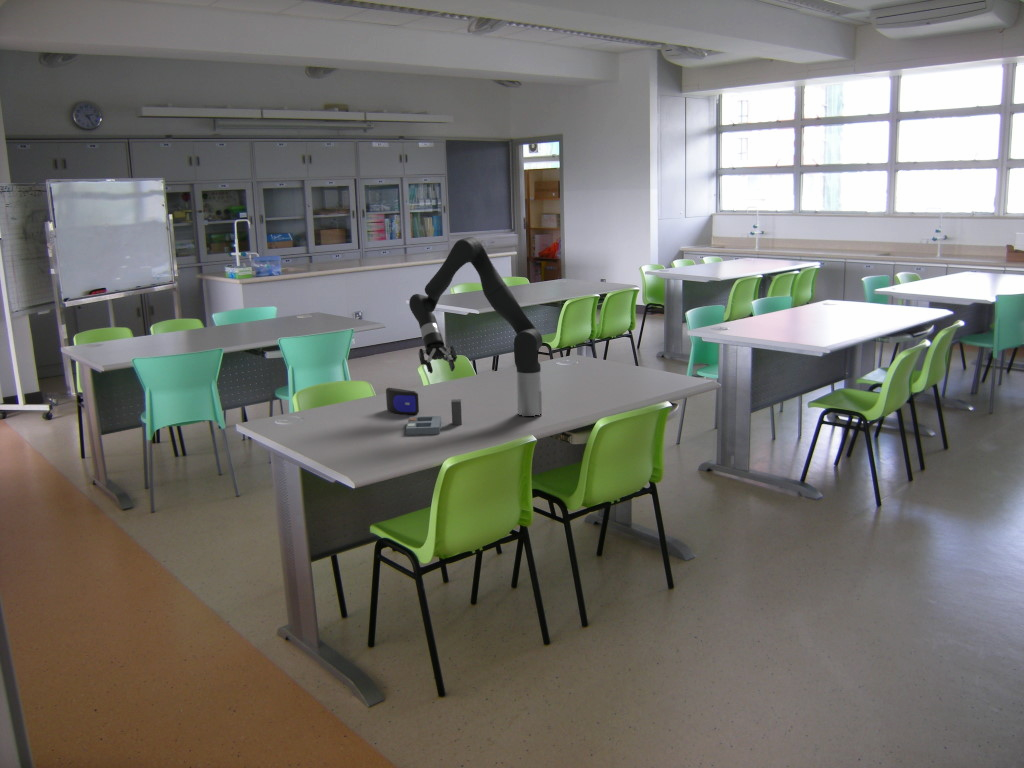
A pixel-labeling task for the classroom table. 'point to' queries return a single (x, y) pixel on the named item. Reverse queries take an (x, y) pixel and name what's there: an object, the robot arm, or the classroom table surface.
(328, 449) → the classroom table surface
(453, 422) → the dark gray upright block
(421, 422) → the socket strip
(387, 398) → the leaning round-cornered charcoal block
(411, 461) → the classroom table surface
